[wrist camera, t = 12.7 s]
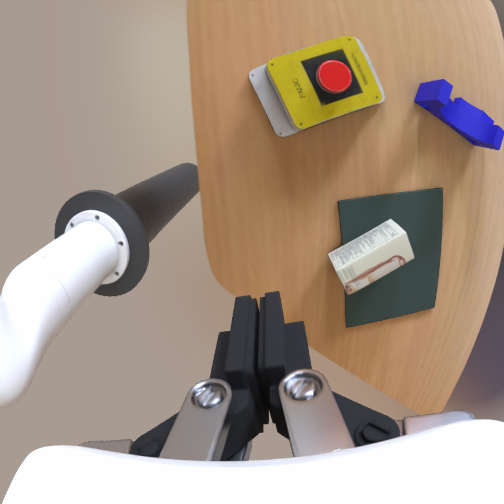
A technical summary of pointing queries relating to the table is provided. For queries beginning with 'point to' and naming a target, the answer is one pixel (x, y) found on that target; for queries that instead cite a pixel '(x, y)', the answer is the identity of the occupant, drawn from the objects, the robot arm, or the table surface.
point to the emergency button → (316, 84)
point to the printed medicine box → (371, 256)
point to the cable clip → (459, 114)
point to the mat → (408, 275)
